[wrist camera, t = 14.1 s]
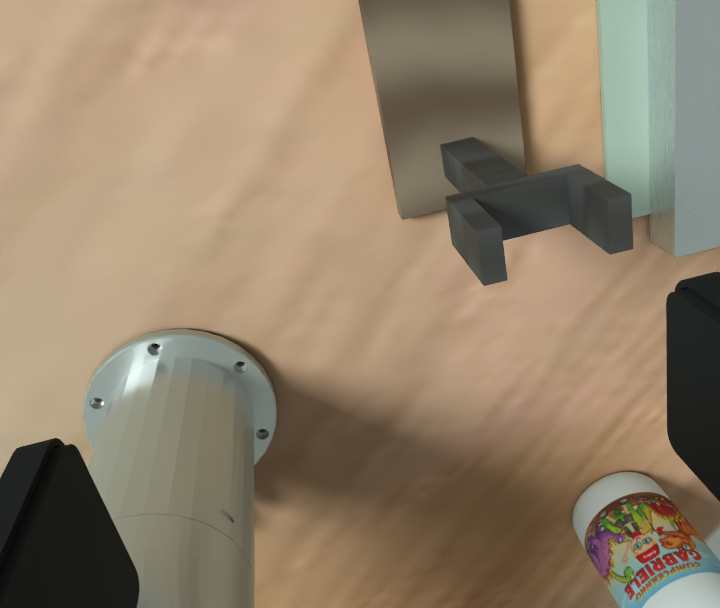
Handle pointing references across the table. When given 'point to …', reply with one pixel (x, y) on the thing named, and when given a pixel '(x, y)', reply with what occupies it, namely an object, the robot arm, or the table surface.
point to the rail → (684, 124)
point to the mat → (625, 97)
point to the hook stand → (473, 133)
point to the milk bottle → (645, 545)
